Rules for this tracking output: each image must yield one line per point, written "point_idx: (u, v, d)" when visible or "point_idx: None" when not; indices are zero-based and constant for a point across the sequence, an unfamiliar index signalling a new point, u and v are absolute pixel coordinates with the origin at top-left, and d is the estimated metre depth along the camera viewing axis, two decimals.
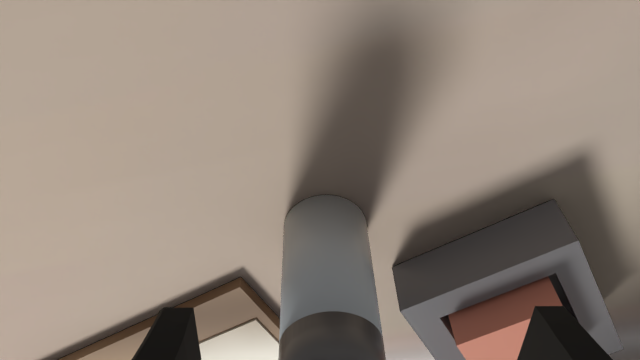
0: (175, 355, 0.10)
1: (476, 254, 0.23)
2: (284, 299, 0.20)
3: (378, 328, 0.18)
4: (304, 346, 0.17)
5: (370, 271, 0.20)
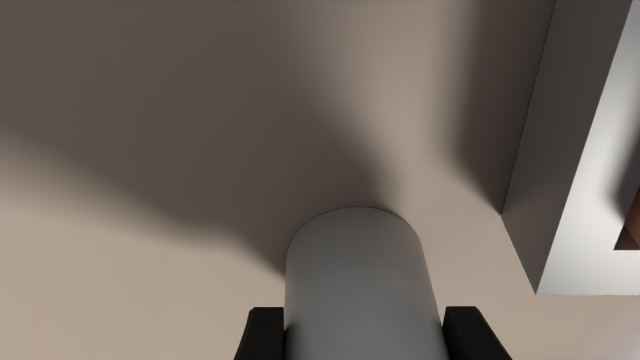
0: (277, 354, 0.10)
1: (557, 106, 0.11)
2: None
3: None
4: None
5: (373, 319, 0.11)
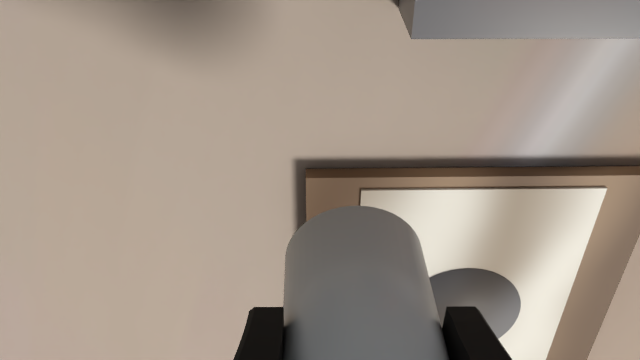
0: (277, 354, 0.10)
1: None
2: None
3: None
4: None
5: (371, 318, 0.11)
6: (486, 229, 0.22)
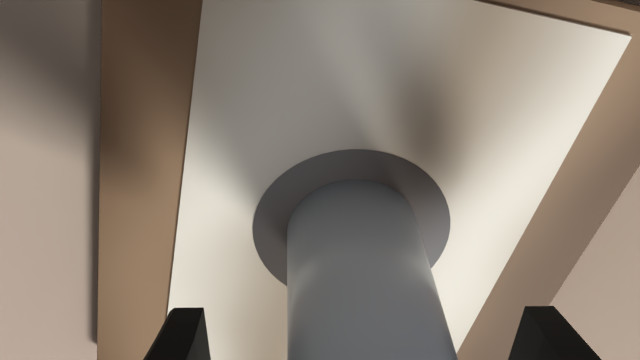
0: (187, 354, 0.10)
1: None
2: None
3: None
4: None
5: (367, 276, 0.11)
6: (420, 77, 0.13)
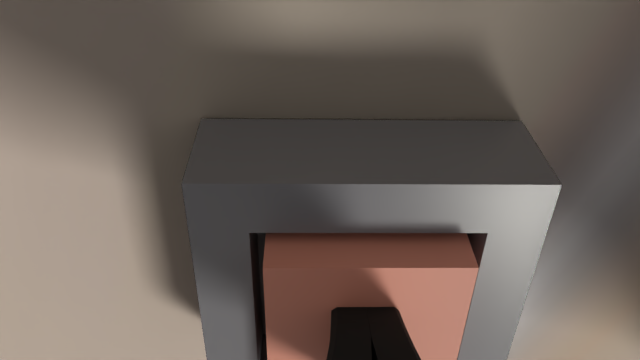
0: (370, 353, 0.10)
1: None
2: None
3: None
4: None
5: None
6: None
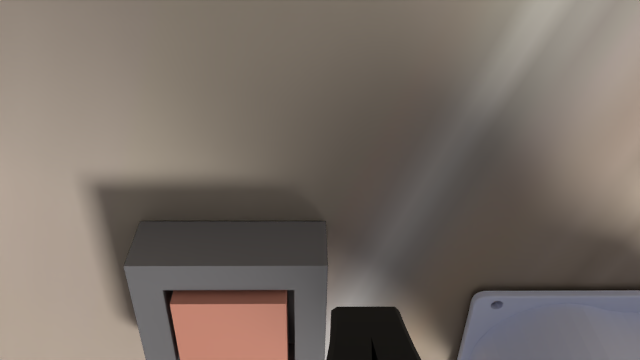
0: (370, 353, 0.10)
1: None
2: None
3: None
4: None
5: None
6: None
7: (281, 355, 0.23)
